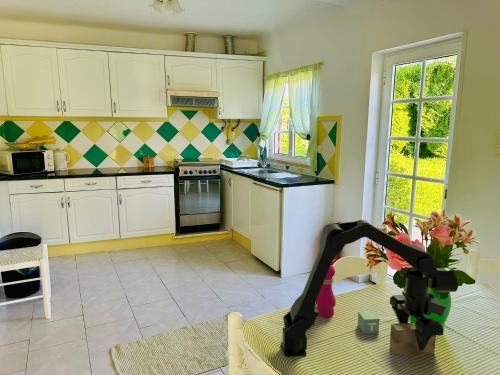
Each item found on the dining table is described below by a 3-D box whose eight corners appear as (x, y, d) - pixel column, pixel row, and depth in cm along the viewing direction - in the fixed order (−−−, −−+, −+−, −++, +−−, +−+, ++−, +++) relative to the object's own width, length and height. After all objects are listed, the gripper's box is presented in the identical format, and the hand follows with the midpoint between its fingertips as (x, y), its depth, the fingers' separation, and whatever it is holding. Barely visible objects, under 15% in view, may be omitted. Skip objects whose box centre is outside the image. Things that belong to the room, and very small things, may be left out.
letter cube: (364, 334, 113) (364, 319, 112) (357, 325, 118) (358, 311, 117) (378, 333, 113) (379, 319, 113) (371, 324, 118) (372, 310, 118)
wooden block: (395, 355, 102) (397, 330, 101) (389, 348, 105) (391, 323, 104) (434, 353, 103) (436, 328, 102) (427, 346, 106) (429, 321, 105)
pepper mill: (330, 320, 121) (332, 265, 118) (311, 313, 125) (312, 260, 122) (338, 311, 127) (340, 259, 123) (320, 306, 131) (321, 254, 128)
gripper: (465, 305, 93) (459, 358, 95) (423, 276, 111) (420, 322, 114) (425, 307, 92) (420, 361, 94) (390, 278, 110) (387, 324, 113)
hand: (412, 340), depth 104 cm, fingers open, 9 cm apart
